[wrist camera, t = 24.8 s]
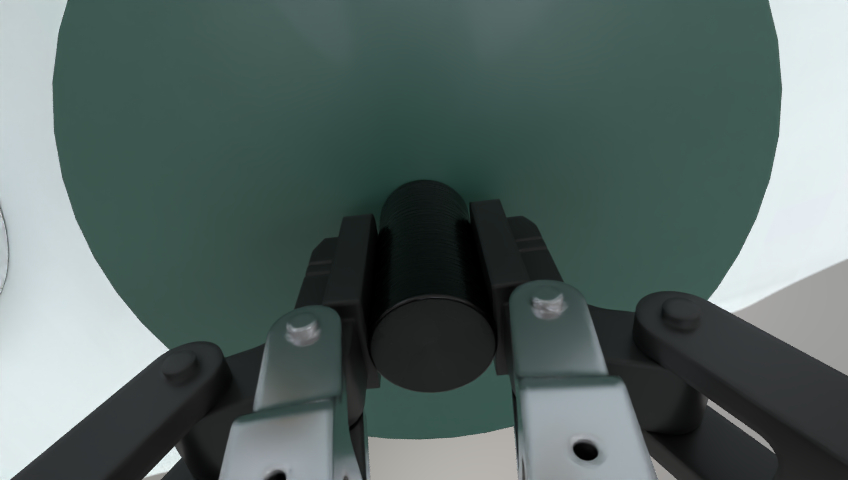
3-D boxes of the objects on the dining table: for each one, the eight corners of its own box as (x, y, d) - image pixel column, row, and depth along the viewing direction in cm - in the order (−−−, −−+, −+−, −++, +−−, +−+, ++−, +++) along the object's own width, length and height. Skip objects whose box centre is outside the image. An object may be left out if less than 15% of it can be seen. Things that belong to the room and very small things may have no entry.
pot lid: (218, 437, 19) (146, 620, 14) (-94, -160, 10) (-701, -301, 4) (691, 388, 18) (803, 560, 13) (859, -302, 9) (1499, -666, 4)
